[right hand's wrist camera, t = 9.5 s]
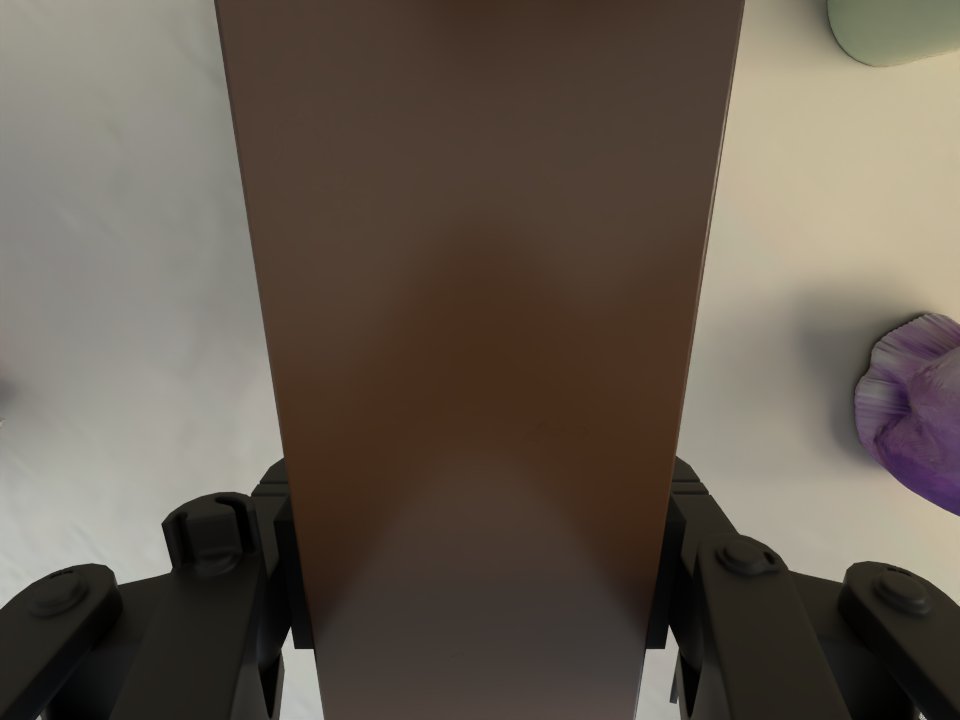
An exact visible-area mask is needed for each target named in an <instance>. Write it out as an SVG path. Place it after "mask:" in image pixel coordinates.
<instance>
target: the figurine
mask: <svg viewBox="0 0 960 720" xmlns="http://www.w3.org/2000/svg"><path fill="white" fill-rule="evenodd" d="M854 404H855V406H856V407H855V410H854V411H855V420H856V426H857V432H858V434H859V440H860V443H861V444H862V445H863V446H864V447H865V448H866V450H867V451H868V452H869V453H870V454H871V456H872V457H873V458H875V459H876V460H877V461H878V462H879V463H880V464H881V465H882V466H883V467H884V468H885V469H886V470H888V471H889V472H890V473H891V474H892V475H893V476H894V477H895V478H896V479H897V480H898V481H899V482H900V483H902V484H903V485H904V486H905V487H907V488H908V489H910V490H911V491H913V492H915V493H916V494H918V495H920V496H921V497H923V498H925V499H926V500H928V501H930V502H932V503H934V504H936V505H937V506H939V507H941V508H943V509H945V510H947V511H949V512H951V513H953V514H955V515H958V516H960V325H959V324H958V323H956V322H955V321H953V320H952V319H950V318H949V317H947V316H944V315H940V314H936V313H932V314H929V315H924V316H921V317H919V318H918V319H914V320H913V321H912V322H909V323H908V324H904V325H903V326H902V327H899V328H898V329H894V330H893V331H892V332H889V333H888V334H887V335H886V336H884V337H882V338H881V340H880V341H879V342H877V343H876V345H875V346H874V348H873V350H872V356H871V360H870V368H869V370H868V371H867V373H866V374H865V376H862V378H861V379H860V380H859V382H858V385H857V387H856V389H855V397H854Z"/></svg>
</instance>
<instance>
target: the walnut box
mask: <svg viewBox="0 0 960 720" xmlns="http://www.w3.org/2000/svg"><path fill="white" fill-rule="evenodd" d="M214 3H215V10H216V16H217V23H218V29H219V36H220V42H221V49H222V55H223V62H224V68H225V75H226V82H227V88H228V95H229V101H230V108H231V114H232V121H233V127H234V134H235V140H236V147H237V153H238V160H239V166H240V173H241V179H242V186H243V192H244V199H245V206H246V212H247V219H248V225H249V232H250V238H251V245H252V251H253V258H254V264H255V271H256V277H257V284H258V290H259V297H260V303H261V310H262V316H263V323H264V330H265V336H266V343H267V349H268V356H269V362H270V369H271V375H272V382H273V388H274V395H275V401H276V408H277V414H278V421H279V427H280V434H281V440H282V447H283V454H284V460H285V467H286V473H287V480H288V486H289V493H290V499H291V506H292V512H293V519H294V525H295V532H296V538H297V545H298V551H299V558H300V564H301V571H302V578H303V584H304V591H305V597H306V604H307V610H308V617H309V623H310V630H311V636H312V643H313V649H314V656H315V662H316V669H317V675H318V682H319V688H320V695H321V702H322V708H323V715H324V720H635V718H636V711H637V705H638V698H639V692H640V685H641V679H642V672H643V666H644V659H645V653H646V646H647V639H648V633H649V626H650V620H651V613H652V607H653V600H654V594H655V587H656V581H657V574H658V567H659V561H660V554H661V548H662V541H663V535H664V528H665V522H666V515H667V509H668V502H669V495H670V489H671V482H672V476H673V469H674V463H675V456H676V450H677V443H678V437H679V430H680V423H681V417H682V410H683V404H684V397H685V391H686V384H687V378H688V371H689V365H690V358H691V351H692V345H693V338H694V332H695V325H696V319H697V312H698V306H699V299H700V293H701V286H702V279H703V273H704V266H705V260H706V253H707V247H708V240H709V234H710V227H711V220H712V214H713V207H714V201H715V194H716V188H717V181H718V175H719V168H720V162H721V155H722V148H723V142H724V135H725V129H726V122H727V116H728V109H729V103H730V96H731V90H732V83H733V76H734V70H735V63H736V57H737V50H738V44H739V37H740V31H741V24H742V18H743V11H744V4H745V0H214Z"/></svg>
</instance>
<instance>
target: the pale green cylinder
mask: <svg viewBox="0 0 960 720" xmlns="http://www.w3.org/2000/svg"><path fill="white" fill-rule="evenodd" d="M827 8H828V17H829V21H830V25H831V28H832V31H833V34H834V36H835V37H836V39H837V41H838V43H839V44H840V45H841V47H842V48H843V49H844V50H845V51H846V52H847V53H848V54H849V55H850V56H852V57H853V58H855V59H856V60H858V61H860V62H863V63H865V64H868V65H872V66H879V67H890V66H897V65H902V64H906V63H910V62H914V61H918V60H922V59H926V58H930V57H934V56H938V55H942V54H945V53H949V52H953V51H957V50H960V0H827Z"/></svg>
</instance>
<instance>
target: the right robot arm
mask: <svg viewBox="0 0 960 720" xmlns="http://www.w3.org/2000/svg"><path fill="white" fill-rule="evenodd" d="M161 525H162V529H163V532H164V536H165V540H166V544H167V548H168V551H169V555H170V559H171V563H172V567H173V568H172V570H171V573H167V574H164V575H160V576H157V577H152V578H148V579H143V580H139V581H134V582H130V583H125V584H121V585H118V584H117V581H116V578H115V575H114V572H113V571H112V570H111V569H109V568H108V567H107V566H106V565H99V564H93V563H91V564H84V565H76V566H72V567H69V568H65V569H62V570H59V571H56V572H53V573H51V574H49V575H47V576H45V577H43V578H41V579H40V580H38V581H36V582H34V583H32V584H31V585H29V586H28V587H27V588H25V589H24V590H23V591H21V592H20V593H19V594H17V595H16V596H15V597H13V598H12V599H11V600H10V601H9V602H8V603H7V604H6V605H5V606H4V607H3V608H2V609H1V610H0V720H36V719H37V717H38V716H39V715H40V716H41V718H42V720H279V717H280V708H281V699H282V690H283V680H284V671H285V670H284V662H283V656H282V651H281V648H282V646H283V644H284V641H285V639H286V636H287V634H288V632H289V629H290V627H291V630H292V636H293V641H294V647H295V649H313V643H312V636H311V630H310V623H309V617H308V610H307V604H306V597H305V591H304V584H303V578H302V571H301V564H300V558H299V551H298V545H297V538H296V532H295V525H294V519H293V512H292V506H291V499H290V493H289V486H288V480H287V473H286V467H285V460H284V458H282V459H281V460H279V461H278V462H277V463H275V464H274V465H272V466H271V467H270V468H269V469H268V471H267V472H266V473H265V475H264V476H263V478H262V479H261V480H260V484H258V485H257V486H256V488H255V489H254V490H253V492H252V493H251V497H249V496H248V495H245V494H241V493H237V492H218V493H214V494H209V495H205V496H201V497H198V498H196V499H194V500H191V501H189V502H187V503H184V504H183V505H181V506H180V507H178V508H177V509H175V510H174V511H173V512H171V513H170V514H169V515H168V516H167V518H166V519H165V520H164V521H163V522H162V524H161ZM669 625H670V628H671V630H672V632H673V635H674V637H675V639H676V642H677V644H678V647H679V651H678V656H677V662H676V667H675V672H674V678H673V683H672V689H671V696H670V703H675V704H677V699H678V697H679V706H680V716H681V720H920V718H919V715H920V713H922V714H923V715H924V716H925V718H926V719H927V720H960V607H959V606H958V605H957V604H956V603H955V602H954V601H953V600H952V599H951V598H950V597H949V596H947V595H946V594H945V593H944V592H942V591H941V590H940V589H938V588H937V587H936V586H934V585H933V584H932V583H930V582H929V581H927V580H925V579H924V578H922V577H920V576H918V575H916V574H914V573H912V572H910V571H908V570H905V569H903V568H900V567H896V566H893V565H890V564H886V563H879V562H871V561H866V562H859V563H854V564H853V565H852V566H850V567H849V568H848V569H847V570H846V573H845V577H844V580H843V583H840V582H835V581H831V580H826V579H822V578H817V577H813V576H808V575H804V574H800V573H797V572H793V571H790V570H788V567H787V566H786V564H785V563H784V561H783V560H782V559H781V557H780V556H779V555H778V554H777V553H776V552H774V551H773V550H772V549H771V548H769V547H768V546H767V545H765V544H763V543H761V542H759V541H757V540H755V539H753V538H751V537H748V536H744V535H740V534H739V533H738V532H737V530H736V529H735V528H734V526H733V525H732V523H731V522H730V521H729V519H728V518H727V516H726V515H725V514H724V512H723V511H722V510H721V508H720V507H719V505H718V504H717V503H716V501H715V500H714V498H713V497H712V496H711V495H709V491H708V490H707V489H706V487H705V486H704V484H703V483H700V479H699V477H698V476H697V475H696V473H695V472H694V470H693V469H692V468H691V466H690V465H689V464H687V463H686V462H684V461H683V460H681V459H680V458H678V457H677V456H675V463H674V469H673V476H672V482H671V489H670V495H669V502H668V509H667V515H666V522H665V528H664V535H663V541H662V548H661V554H660V561H659V567H658V574H657V581H656V587H655V594H654V600H653V607H652V613H651V620H650V626H649V633H648V639H647V646H646V649H665V645H666V639H667V634H668V628H669Z"/></svg>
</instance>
